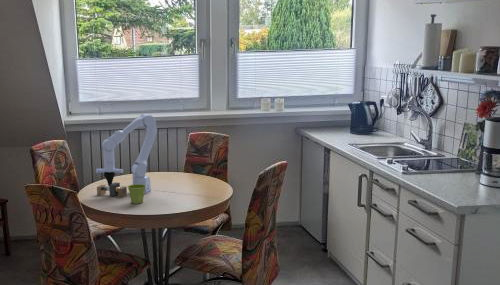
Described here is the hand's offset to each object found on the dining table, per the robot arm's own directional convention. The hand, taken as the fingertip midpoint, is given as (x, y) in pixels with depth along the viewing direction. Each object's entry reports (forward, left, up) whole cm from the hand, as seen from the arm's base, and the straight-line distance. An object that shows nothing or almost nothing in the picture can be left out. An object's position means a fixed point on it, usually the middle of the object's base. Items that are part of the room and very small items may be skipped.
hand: (110, 185), depth 289 cm
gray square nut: (-3, 0, -5) cm, 6 cm away
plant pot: (-21, +9, -5) cm, 23 cm away
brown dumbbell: (-1, 0, -5) cm, 5 cm away
